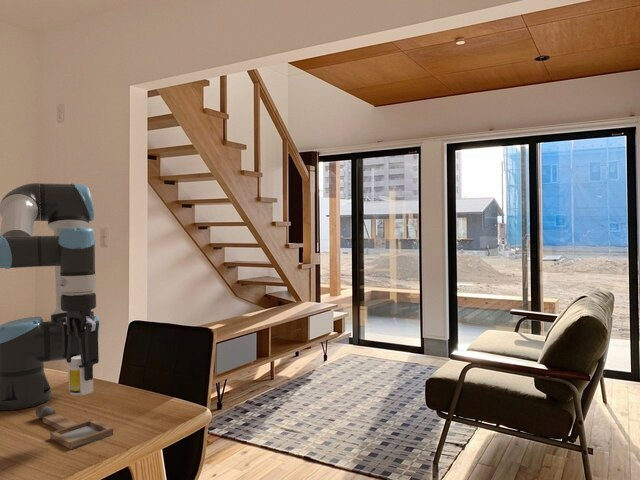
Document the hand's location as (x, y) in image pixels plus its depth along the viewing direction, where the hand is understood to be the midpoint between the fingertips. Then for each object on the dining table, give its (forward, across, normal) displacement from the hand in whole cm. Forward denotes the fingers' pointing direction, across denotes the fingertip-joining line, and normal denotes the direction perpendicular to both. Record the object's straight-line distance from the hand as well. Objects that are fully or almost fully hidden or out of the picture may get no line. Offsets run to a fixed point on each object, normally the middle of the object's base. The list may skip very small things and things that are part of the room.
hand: (81, 391), depth 118 cm
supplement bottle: (+1, 0, 0) cm, 1 cm away
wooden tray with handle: (+11, -8, 0) cm, 13 cm away
